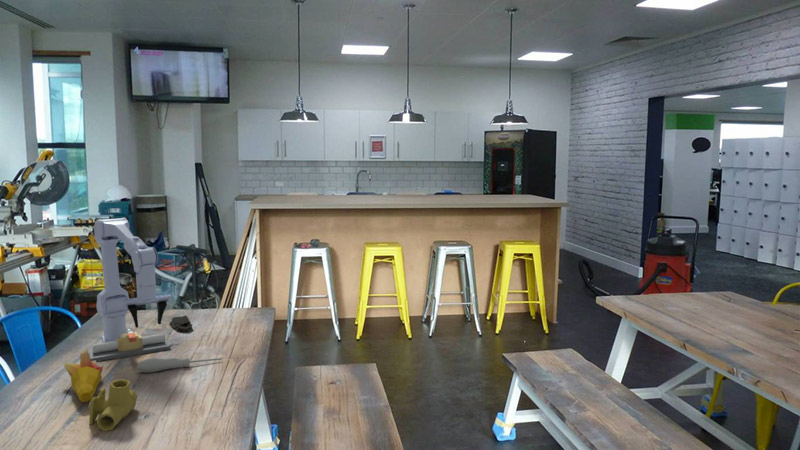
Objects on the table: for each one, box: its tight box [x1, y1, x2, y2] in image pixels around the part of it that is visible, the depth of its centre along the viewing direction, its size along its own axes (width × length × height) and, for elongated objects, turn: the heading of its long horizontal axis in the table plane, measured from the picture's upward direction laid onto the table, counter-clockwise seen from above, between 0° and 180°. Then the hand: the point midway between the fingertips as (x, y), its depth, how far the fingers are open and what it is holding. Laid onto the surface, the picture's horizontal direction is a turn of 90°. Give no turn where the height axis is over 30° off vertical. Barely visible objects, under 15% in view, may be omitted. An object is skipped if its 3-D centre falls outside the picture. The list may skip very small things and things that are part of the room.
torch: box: [62, 346, 104, 403], centre depth 154 cm, size 8×8×25 cm
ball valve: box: [88, 378, 138, 432], centre depth 137 cm, size 13×10×10 cm
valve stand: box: [88, 331, 171, 362], centre depth 186 cm, size 10×24×6 cm, turn 122°
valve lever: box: [125, 327, 137, 342], centre depth 181 cm, size 12×3×2 cm, turn 32°
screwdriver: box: [136, 356, 223, 374], centre depth 172 cm, size 5×25×4 cm, turn 115°
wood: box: [168, 315, 193, 334], centre depth 215 cm, size 22×8×3 cm, turn 28°
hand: (148, 325), depth 181 cm, fingers open, 6 cm apart
